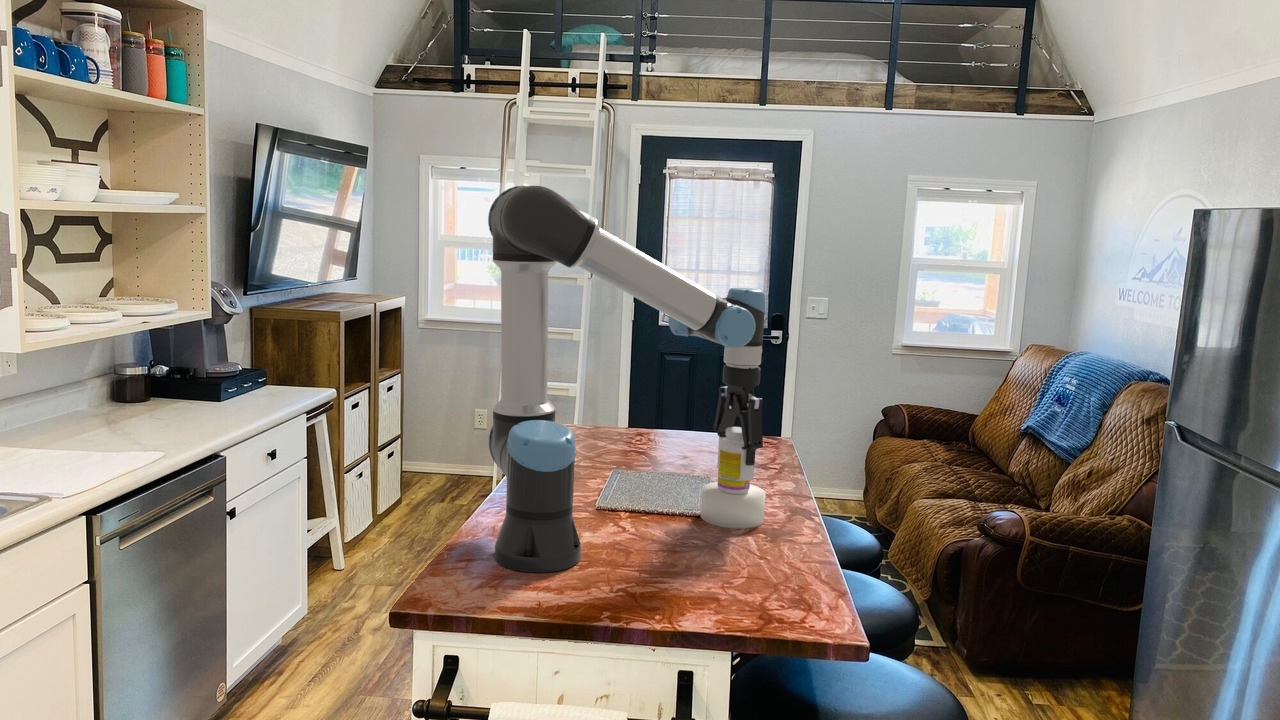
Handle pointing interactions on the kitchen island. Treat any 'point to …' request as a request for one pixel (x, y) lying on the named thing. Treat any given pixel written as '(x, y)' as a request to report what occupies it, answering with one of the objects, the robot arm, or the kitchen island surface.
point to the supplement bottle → (731, 463)
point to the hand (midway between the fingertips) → (734, 473)
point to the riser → (732, 507)
